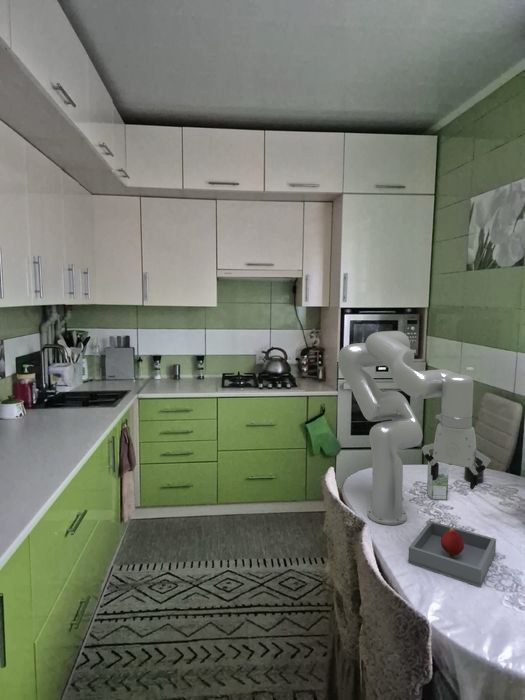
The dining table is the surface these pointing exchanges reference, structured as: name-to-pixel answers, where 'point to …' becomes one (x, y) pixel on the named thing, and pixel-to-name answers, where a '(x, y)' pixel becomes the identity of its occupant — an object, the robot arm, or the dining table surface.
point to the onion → (452, 542)
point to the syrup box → (438, 483)
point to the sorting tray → (462, 566)
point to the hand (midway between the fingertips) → (453, 482)
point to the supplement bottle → (468, 472)
